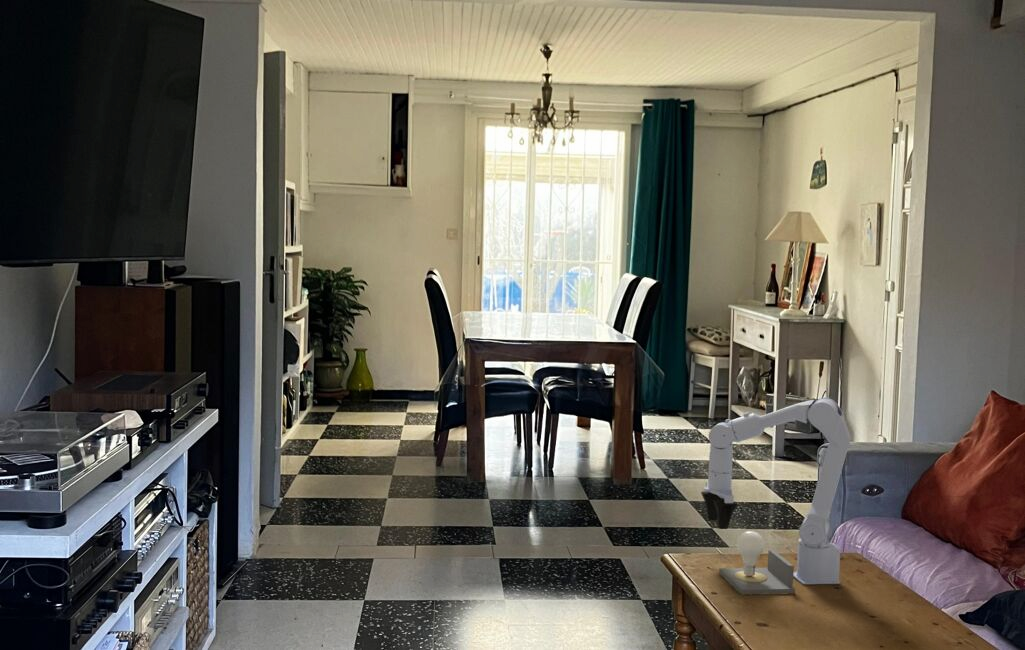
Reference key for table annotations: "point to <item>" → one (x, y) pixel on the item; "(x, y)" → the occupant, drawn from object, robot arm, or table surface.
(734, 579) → the lamp base
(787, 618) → the table surface
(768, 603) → the table surface
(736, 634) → the table surface
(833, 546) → the robot arm
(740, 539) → the lightbulb
